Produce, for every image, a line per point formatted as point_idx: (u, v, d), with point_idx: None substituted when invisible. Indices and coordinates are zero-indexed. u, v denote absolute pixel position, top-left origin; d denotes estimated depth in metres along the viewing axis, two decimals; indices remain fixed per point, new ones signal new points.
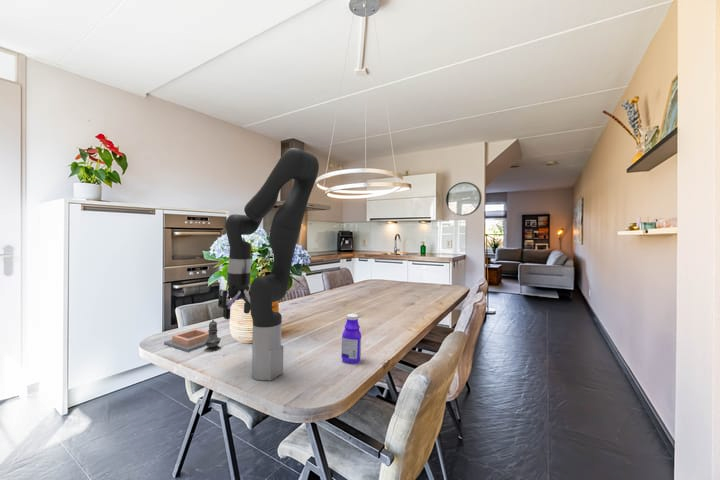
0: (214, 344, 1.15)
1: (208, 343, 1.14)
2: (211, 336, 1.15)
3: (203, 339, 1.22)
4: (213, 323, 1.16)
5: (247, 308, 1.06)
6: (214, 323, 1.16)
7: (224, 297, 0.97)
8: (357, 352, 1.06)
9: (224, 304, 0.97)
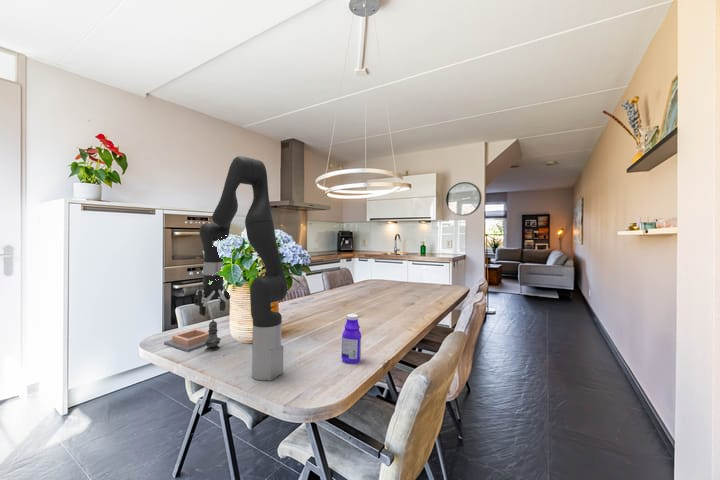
0: (214, 344, 1.15)
1: (208, 343, 1.14)
2: (211, 336, 1.15)
3: (203, 339, 1.22)
4: (213, 323, 1.16)
5: (222, 306, 1.20)
6: (214, 323, 1.16)
7: (199, 296, 1.10)
8: (357, 352, 1.06)
9: (199, 302, 1.10)
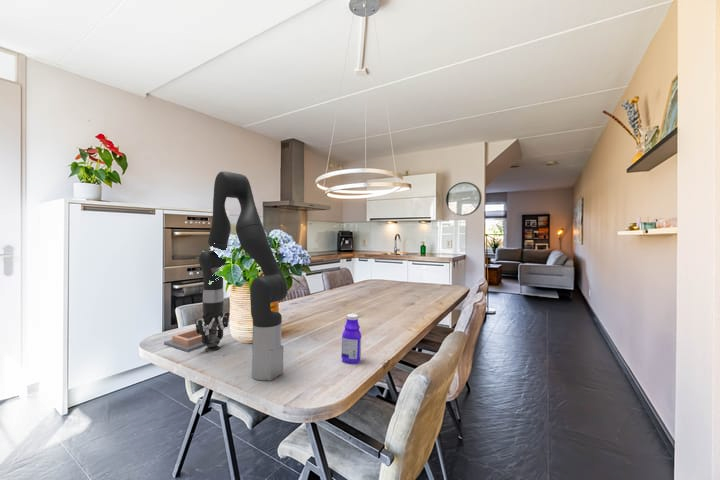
0: (214, 344, 1.15)
1: (208, 343, 1.14)
2: (211, 336, 1.15)
3: None
4: None
5: (220, 334, 1.19)
6: (214, 323, 1.16)
7: (200, 326, 1.10)
8: (357, 352, 1.06)
9: (202, 331, 1.11)
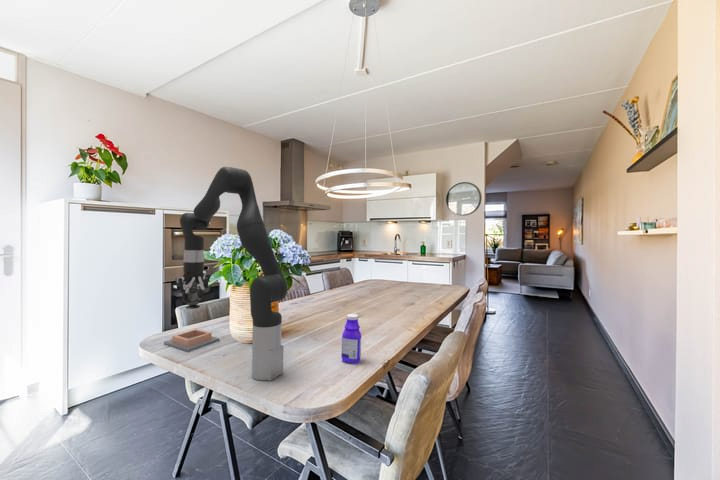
0: (194, 302, 1.20)
1: (188, 301, 1.19)
2: (191, 295, 1.21)
3: (203, 339, 1.22)
4: None
5: (200, 294, 1.24)
6: None
7: (180, 283, 1.16)
8: (357, 352, 1.06)
9: (182, 289, 1.17)
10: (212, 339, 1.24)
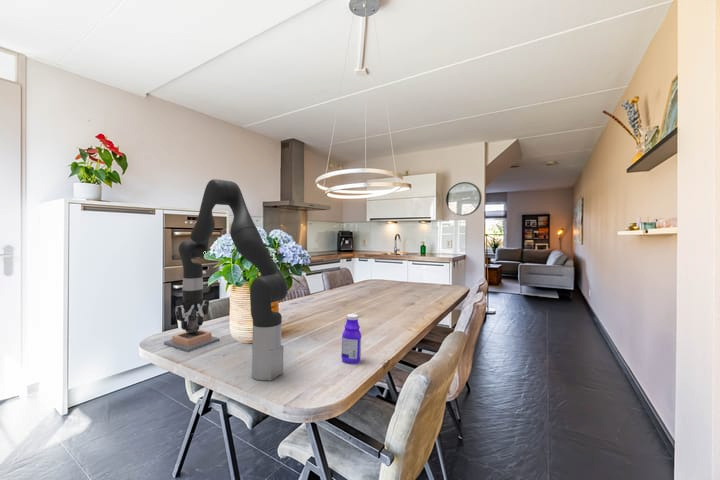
0: (193, 330, 1.21)
1: (187, 329, 1.20)
2: (190, 322, 1.21)
3: (203, 339, 1.22)
4: None
5: (199, 321, 1.25)
6: (193, 310, 1.22)
7: (179, 312, 1.16)
8: (357, 352, 1.06)
9: (181, 317, 1.17)
10: (212, 339, 1.24)
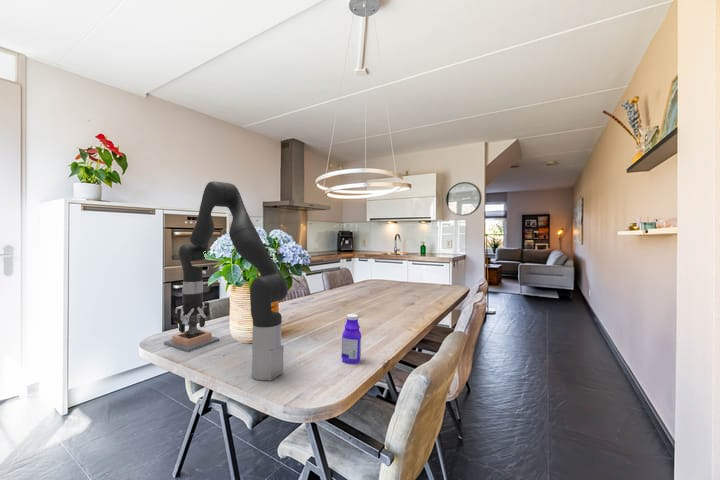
0: (194, 336, 1.21)
1: (188, 334, 1.20)
2: (190, 328, 1.21)
3: (203, 339, 1.22)
4: (193, 316, 1.21)
5: (202, 322, 1.26)
6: (194, 316, 1.22)
7: (178, 314, 1.16)
8: (357, 352, 1.06)
9: (178, 320, 1.16)
10: (212, 339, 1.24)
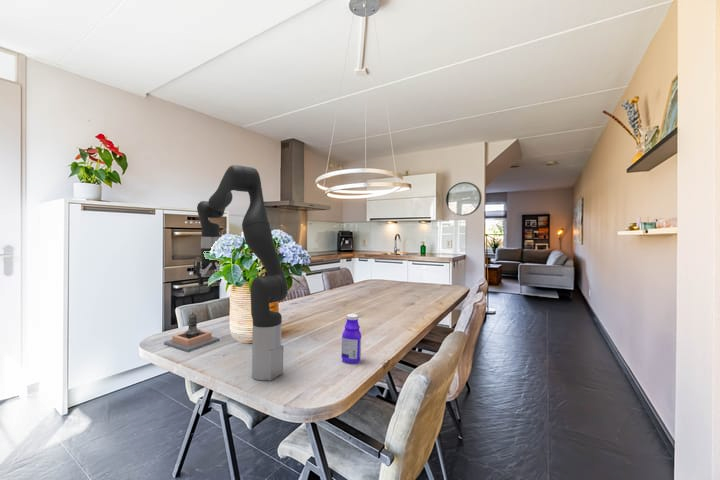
0: (193, 336, 1.21)
1: (188, 335, 1.20)
2: (190, 328, 1.21)
3: (203, 339, 1.22)
4: (193, 316, 1.21)
5: None
6: (194, 316, 1.22)
7: (198, 267, 1.20)
8: (357, 352, 1.06)
9: (198, 272, 1.21)
10: (212, 339, 1.24)
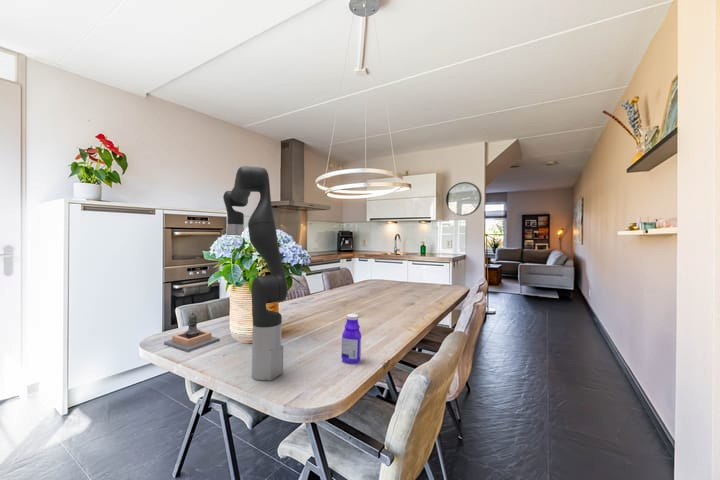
0: (193, 336, 1.21)
1: (188, 335, 1.20)
2: (190, 328, 1.21)
3: (203, 339, 1.22)
4: (193, 316, 1.21)
5: None
6: (194, 316, 1.22)
7: None
8: (357, 352, 1.06)
9: None
10: (212, 339, 1.24)
